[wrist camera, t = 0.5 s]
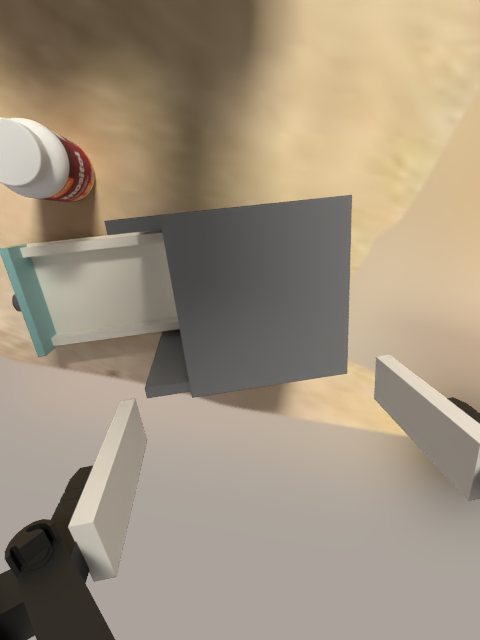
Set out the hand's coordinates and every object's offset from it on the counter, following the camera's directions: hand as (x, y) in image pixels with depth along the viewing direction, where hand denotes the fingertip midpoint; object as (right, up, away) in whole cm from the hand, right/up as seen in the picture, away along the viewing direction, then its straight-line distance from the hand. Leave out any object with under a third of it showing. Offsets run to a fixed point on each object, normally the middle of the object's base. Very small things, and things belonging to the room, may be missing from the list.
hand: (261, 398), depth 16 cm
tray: (-17, +8, +20) cm, 28 cm away
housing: (-3, +10, +23) cm, 25 cm away
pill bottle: (-20, +21, +17) cm, 33 cm away
